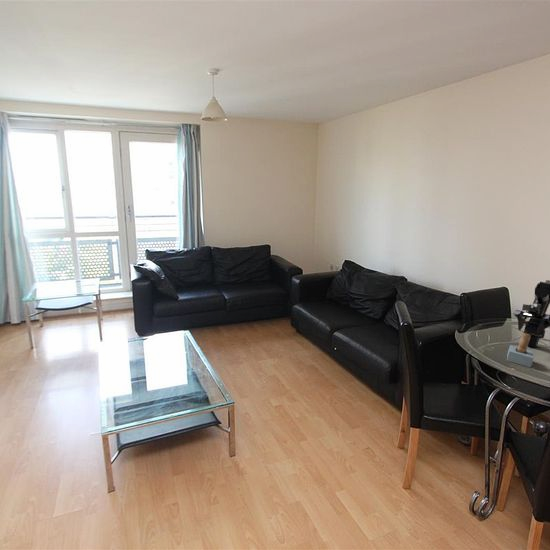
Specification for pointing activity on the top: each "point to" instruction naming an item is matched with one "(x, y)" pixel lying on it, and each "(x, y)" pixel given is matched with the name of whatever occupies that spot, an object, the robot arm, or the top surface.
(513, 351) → the hole block
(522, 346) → the walnut peg
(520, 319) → the robot arm
